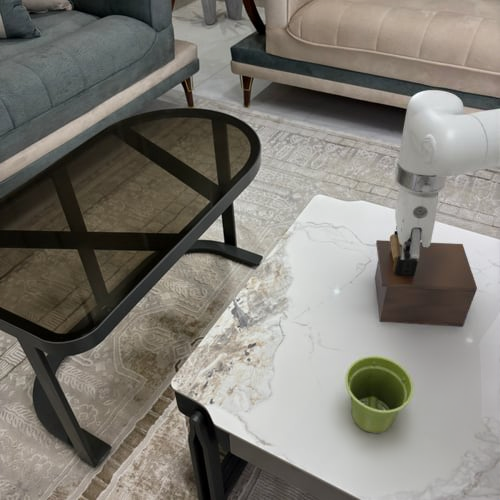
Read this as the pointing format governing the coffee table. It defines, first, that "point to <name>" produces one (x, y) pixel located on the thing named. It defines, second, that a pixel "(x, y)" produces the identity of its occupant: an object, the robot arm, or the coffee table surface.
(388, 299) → the chest
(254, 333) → the coffee table surface
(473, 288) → the lid
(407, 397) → the plant pot
